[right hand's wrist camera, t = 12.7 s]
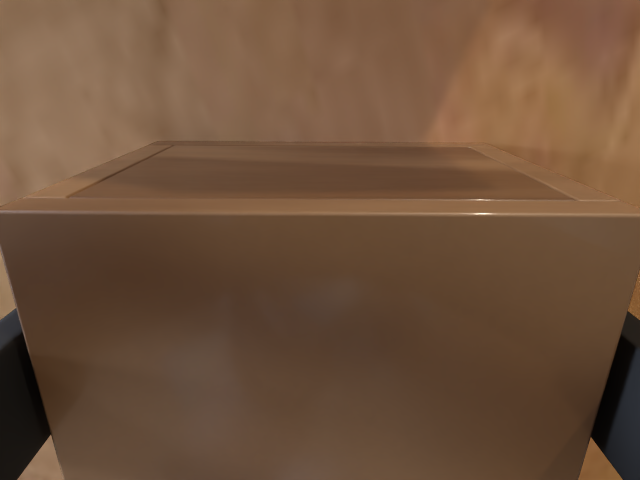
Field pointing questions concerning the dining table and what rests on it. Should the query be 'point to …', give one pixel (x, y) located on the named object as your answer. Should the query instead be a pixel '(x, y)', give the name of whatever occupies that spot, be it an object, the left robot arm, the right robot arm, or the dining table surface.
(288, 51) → the dining table surface
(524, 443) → the cabinet
